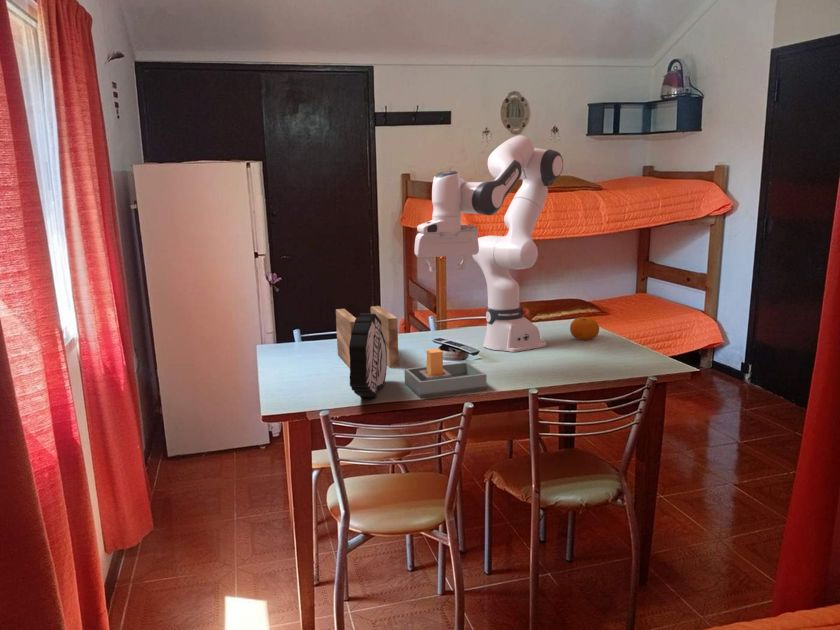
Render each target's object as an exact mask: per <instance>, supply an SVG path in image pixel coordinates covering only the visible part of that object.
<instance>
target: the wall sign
mask: <svg viewBox="0 0 840 630" xmlns="http://www.w3.org/2000/svg"><path fill="white" fill-rule="evenodd" d="M355 318H356V319H355V323H354V326H353V329H352V334H351V339H350V345H349V354H350V368H349V386H350V387H351V391H353V392H354V394H355V395H357V396H358V397H359V398H363V399H377V395H378V391H379V390H380V389H382V388H383V387H384V386H385V382H386V377H387V375H386V374H387V367H388V366H387V349H386V343H385V340H384V337H383V334H382V331H381V320H380V319H379V318H378V317H377V316H376V314H371V313H365V312H364V313H359V316H356V317H355Z"/></svg>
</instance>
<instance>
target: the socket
mask: <svg viewBox="0 0 840 630" xmlns="http://www.w3.org/2000/svg"><path fill="white" fill-rule="evenodd" d="M445 378H452V375H451V374H450V373H448V372H447V371H446V370H444V369H443V375H436V376H429V375H428V374H427V370H422V371H419V379H420V380H421V381H428V380H437V379H445Z"/></svg>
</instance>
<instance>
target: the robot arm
mask: <svg viewBox="0 0 840 630" xmlns="http://www.w3.org/2000/svg"><path fill="white" fill-rule="evenodd" d="M563 168H564V159H563V157H562V155H561V153H560V152H558V151H557V150H553V149H551V148H549V149H545V148H538V147H535V146H534V143H533V142H532V140H531V139H530V138H529V137H527V136H525V135H524V134H523V135H521V134H520V135H519V134H517V135H515V136H512V137H510V138H509V139H507V140H505V141H503V142H502V143H501V144H500V145H499V146H497V147H496V148H495V149H494V150H492V152H491V153H490V154H489V156H488V158H487V169H488V171H489V174H490V175H491V176H492V178H493V180H491V181H490V180H489V181H479V182H478V181H467V180H465V179H463V178H461V176H460V173H459V171H456V170H449V171H448V170H447V171H442V172H438V173H437V174H435V175H434V177H433V181H432V187H431V203H432V206H433V207H432V208H433V209H432V214H431V220H429V221H426V222H423V223H420V224H418V225H417V227H416V228H417V229H416V230H417V232H418V233H417V234H416V236H415V239H414V255H415V257H417V258H420V259H421V258H423V259H424V258H425V261H426V263H427V265H428V266H429V272H431V273H435V272H437V266H436V265H434V264H433V262H432V261H433V258H438V257H439V258H440V257H455V256H459V257H460V256H461V257H460V258H461V259H462V260H461V262H460V263H458V264H457V266H458V268H457V269H458V270H459V271H465V267H466V265H465V264H466V262H467V261H468V259H469V256H472V259H473V261H474V262H475V263H477V265H478V266H479V267H480V269H481V271H482V273H483V276H484V278H485V281H486V287H487V288H486V289H487V306H486V310H485V311H486V313H485V316H486V317H485V319H486V330H485V331H486V332H485V336H484V340H483V344H482V345H483V347H484V348H486V349H488V350H493V351H505V352H511V353H517V352H522V351H527V350H532V349H539V348H544V347H547V342H546V340H544V339H542V338H541V334H540V330H539V328H538V327H537V326H536V324H534V323H532V322H531V321H530V320H529V319H527V318H526V317H525V316H524V315H529V313H530V309H528V308H526V307H524V308H523V307H521V305H520V285H519V283H518V281H517V280H516V279H514V278H513V277H512V275H511V273H510V270H526V269H530V268H532V267H533V266H534V265H535V264H536V262H537V260H538V257H539V256H538V255H539V251H538V247H537V245H536V243H535V242H534V240H533V231H534V229H535V226H536V225H537V222H538V220H539V218H540V216H541V214H542V211H543V209H544V206H545V204H546V200H547V198H548V193H549V189H548V188H549V187H551V186H552V185H553V184H554V182H555V181H557V180H558V178H559V177H560V175H561V174H562V172H563ZM519 180H522V184H521V186H520V187H519V188H518V190H517V191H516V193H515V194H514V197H513V198H512V200H511V202H510V204H509V206H508V208H507V210H506V212H505V214H504V216H503V222H504V225H505V227H506V229H508V231H507V233H506V234H505V235H504V236H503V235H490V234H489V235H485V236H479V229H478V227H477V226H476V225H475V224H462V214H467V215H468V214H469V215H470V214H472V215H473V214H474V215H476V214H477V215H485V216H493V215H495V214H496V213H498V212H499V210H500V209H501V208H502V206H503V203H504V200H505V199H506V197H507V196H508V195H509V193H510V192H511V191H512V189H514V187H515V186H516V184H518V181H519Z"/></svg>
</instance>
